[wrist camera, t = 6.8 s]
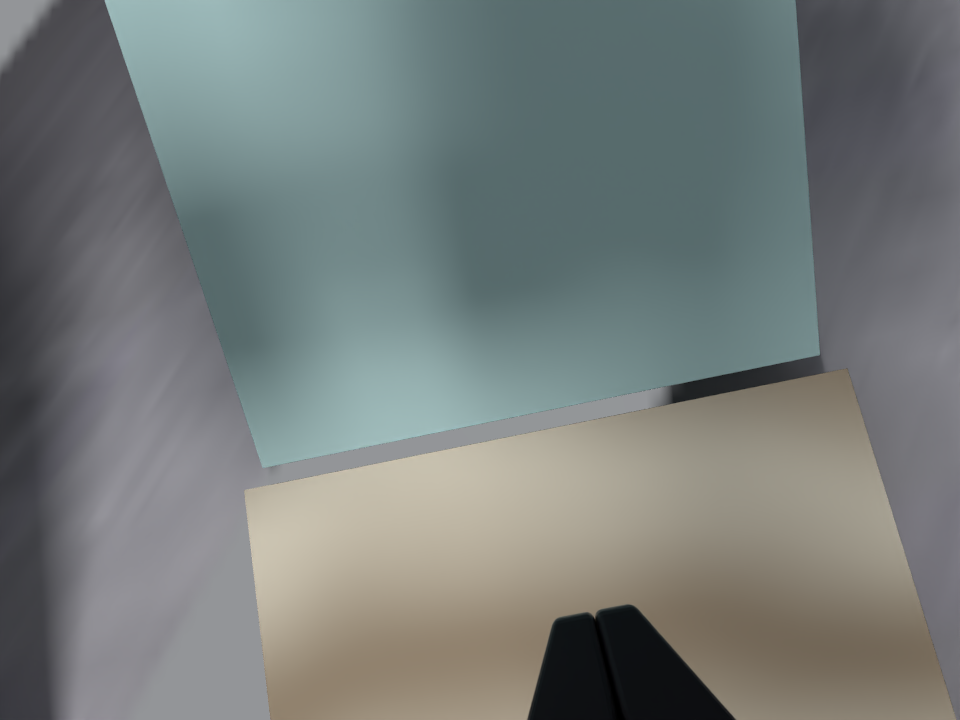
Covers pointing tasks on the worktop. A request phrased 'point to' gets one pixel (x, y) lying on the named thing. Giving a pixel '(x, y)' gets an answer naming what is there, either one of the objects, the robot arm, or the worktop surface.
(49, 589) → the worktop surface
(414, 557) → the plate
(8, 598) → the worktop surface
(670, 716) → the robot arm
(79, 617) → the worktop surface
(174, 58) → the panel
